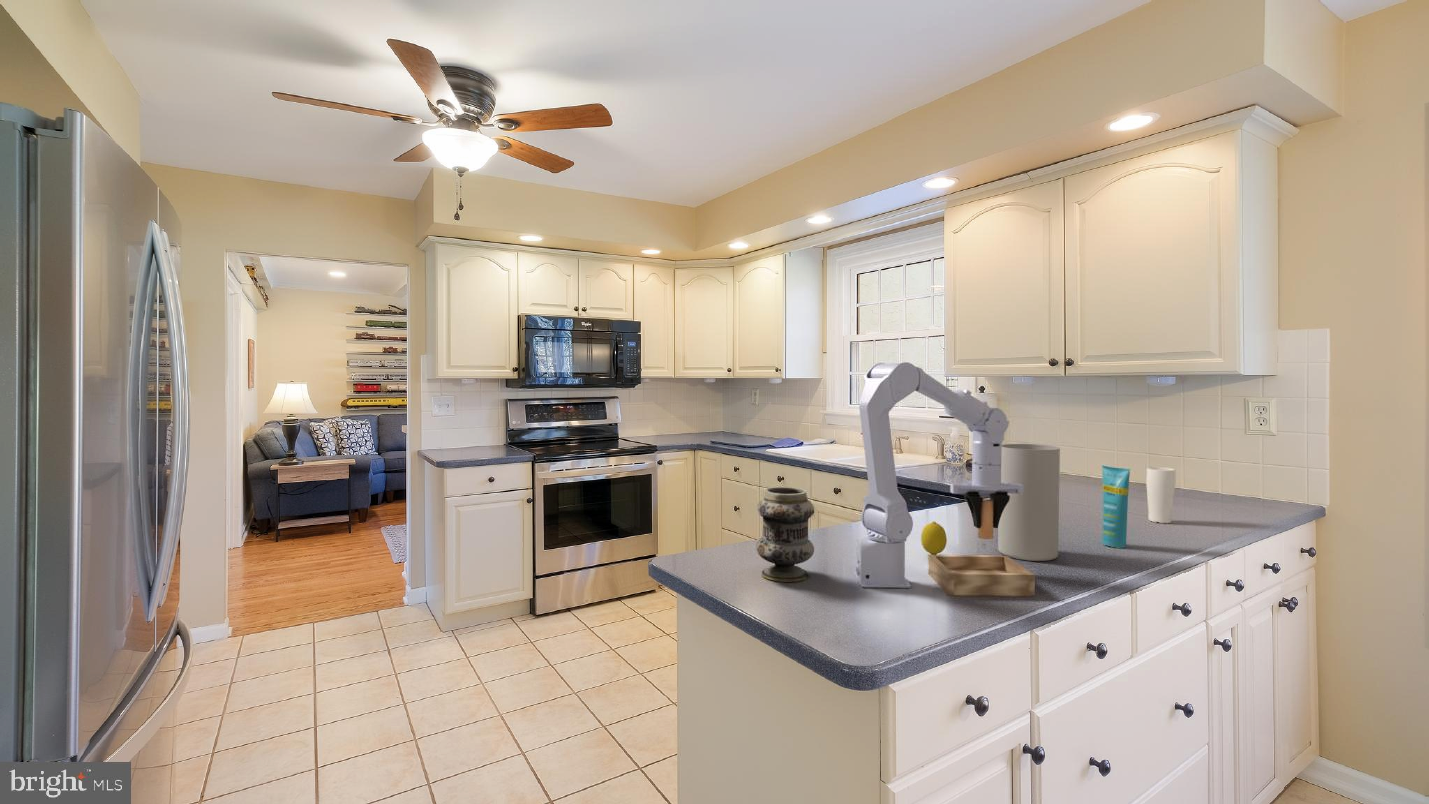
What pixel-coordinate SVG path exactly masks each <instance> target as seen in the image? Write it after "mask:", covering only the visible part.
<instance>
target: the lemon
mask: <svg viewBox="0 0 1429 804" xmlns="http://www.w3.org/2000/svg"><path fill="white" fill-rule="evenodd" d="M920 536H921V537H920V540H921V546H922V547H923V549H924V550H925V551H926V552H927V553H929V555H939V554H940V553H942V552H943V551H944V550H945V549H946V547H947V541H948V540H947V534H946V530H945V528H944V527H943V526H942V525H940V524H939V523H938V522H936V521H931V522H930V523H928V524H926V525H925V526H924V527H923V529H922V531H921V535H920Z"/></svg>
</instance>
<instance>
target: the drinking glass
mask: <svg viewBox="0 0 1429 804" xmlns="http://www.w3.org/2000/svg"><path fill="white" fill-rule="evenodd" d="M1145 472H1146V473H1145V487H1146V488H1145V489H1146V499H1147V510H1148V511H1147V512H1148V515H1147V517H1148V521H1149V520H1150V522H1151V521H1152V522H1151V523H1155V522H1159V523H1158V524H1163V523H1166V524H1170V523H1172V514H1173V505H1174V499H1175V498H1174V497H1175V490H1176V479H1177V478H1176V477H1177V475H1176V469H1175V468H1171V467H1162V466H1161V467H1160V466H1149V467H1146V471H1145Z"/></svg>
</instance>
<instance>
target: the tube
mask: <svg viewBox="0 0 1429 804" xmlns="http://www.w3.org/2000/svg"><path fill="white" fill-rule="evenodd" d="M1101 467H1102V469H1101V470H1102V471H1101V472H1102V540H1101V541H1102V545H1103V544H1104V545H1103V546H1105V545H1108V546H1111V547H1110V548H1113V547H1116V548H1115V549H1123V548H1126V547H1127V535H1128V534H1127V530H1128V529H1127V528H1128V508H1129V507H1128V505H1129V488H1130V486H1129V485H1130V476H1131V475H1130V473H1131V468H1126V467H1125V468H1123V467H1115V466H1113V467H1112V466H1108V465H1103V464H1102V465H1101ZM1108 546H1107V547H1108Z"/></svg>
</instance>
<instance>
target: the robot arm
mask: <svg viewBox="0 0 1429 804" xmlns="http://www.w3.org/2000/svg"><path fill="white" fill-rule="evenodd" d="M863 383H864V387H863V389H862V393H861V396H860V400H859V403H858V404H859V407H858V408H859V409H858V410H859V416H860V424H861V425H860V426H861V434H862V441H863V447H864V448H863V449H864V456H865V457H864V459H865V465H866V466H865V467H866V474H867V480H868V481H867V482H868V489H869V490H868V491H869V492H868V493H867V494H866V495H864V497H863V498H862V501H863V503H862V504H863V507H862V511H861V515H860V516H861V518H860V519H861V524H862V525H863V527H864V528H865V529H866V535H867V536H866V537H860V538H857V539H856V543H855V544H856V545H855V577H856V579H857V581H858V582H859V584H860V585H861V587H862V588H898V589H899V588H900V589H901V588H903V589H905V588H907V589H909V588H911V587H912V585H911V583H909V581H908V580H907V578H906V577H905V574H906V572H905V571H906V570H905V569H906V565H905V564H906V563H905V562H906V561H905V560H906V558H905V557H906V554H905V553H906V542H907V538H908V537H909V536H910V535H911V533H912V531H913V526H914V521H913V517H912V515H911V514H910V512H909V511H908V506H907V502H906V500H905V498H904V497H903V496H902V494H901V492H899V489H898V483H897V482H898V481H897V473H896V465H895V457H894V456H895V455H894V450H893V449H894V448H893V438H892V432H891V422H890V416H889V413H890V412H891V411H892V409H894V408H895V406H896V404H898V403H900V402H901V401H902V400H904V399H905V398H908V396H910V395H911V394H913V393H914V392H917V393H919V394H921V395H923V396H925V397H927V398H928V399H931V400H932V401H935V402H937V403H939V404H941V405H943V409H944V411H945V413H946V414H947V415H949V416H950V417H951V418H952V417H953V418H954V419H955V420H958V421H959V422H961V423H963V424H965V425H966V427H967V429H968V431H970V432H971V433H972V449H971V450H972V453H971V455H972V459H971V462H972V463H971V467H972V468H971V482H956V483H955V482H954V483H953V482H952V483H950V484H949V485H950V486H949V489H950V490H949V492H950V493H951V494H954V495H955V494H956V495H957V494H963V495H962V496H963V497H964V500H966V503H967V505H968V509H969V511H970V513H971V517H972V522H973V527H975V528H976V529H978V528H981V507H982V501H983V499H984V498H983V497H981V494H989V499H991V500H994V518H993V529H998V525H999V521H1000V518H1001V515H1002V512H1003V510H1004V508H1005V506H1006V505H1007V503H1008V502H1009V500H1010V496H1009V495H1008V493H1017V494H1023V485H1021V484H1014V483H1001V456H1002V445H1003V444H1002V443H1003V441H1004V440H1005V435H1006V434H1005V433H1006V432H1007V430H1008V428H1009V423H1010V421H1009V420H1008V418H1007V416H1006V414H1005V412H1004V411H1003V410H1002V409H1000V408H999V407H990V406H989V405H988V402H987V401H985V400H980V399H978V398H976V397H974V396H973V395H972V391H970V390H969V389H958V390H951V389H950V388H949V387H948V386H946V385H944V384H943V383H941V382H939V380H937V379H935V378H933V376H930V374H928V373H926V371H924V370H923V368H921V367H919V366H915V365H914V364H913V363H911V362H906V361H903V362H900V363H899V362H898V363H896V362H895V363H894V362H893V363H884V362H878V363H875V364H874V365H872V366H871V367H870V368H869V369H868V370H867V372H865V374H864V375H863Z"/></svg>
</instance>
